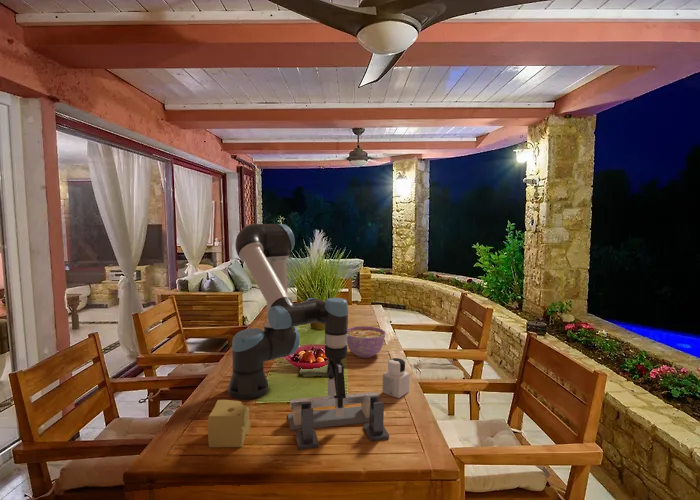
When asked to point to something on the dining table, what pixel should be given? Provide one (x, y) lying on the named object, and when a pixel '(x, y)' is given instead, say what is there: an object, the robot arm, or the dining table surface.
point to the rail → (332, 400)
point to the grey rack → (373, 428)
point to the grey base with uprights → (332, 417)
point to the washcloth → (314, 371)
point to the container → (396, 378)
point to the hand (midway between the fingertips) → (335, 406)
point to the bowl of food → (365, 340)
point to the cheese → (228, 424)
